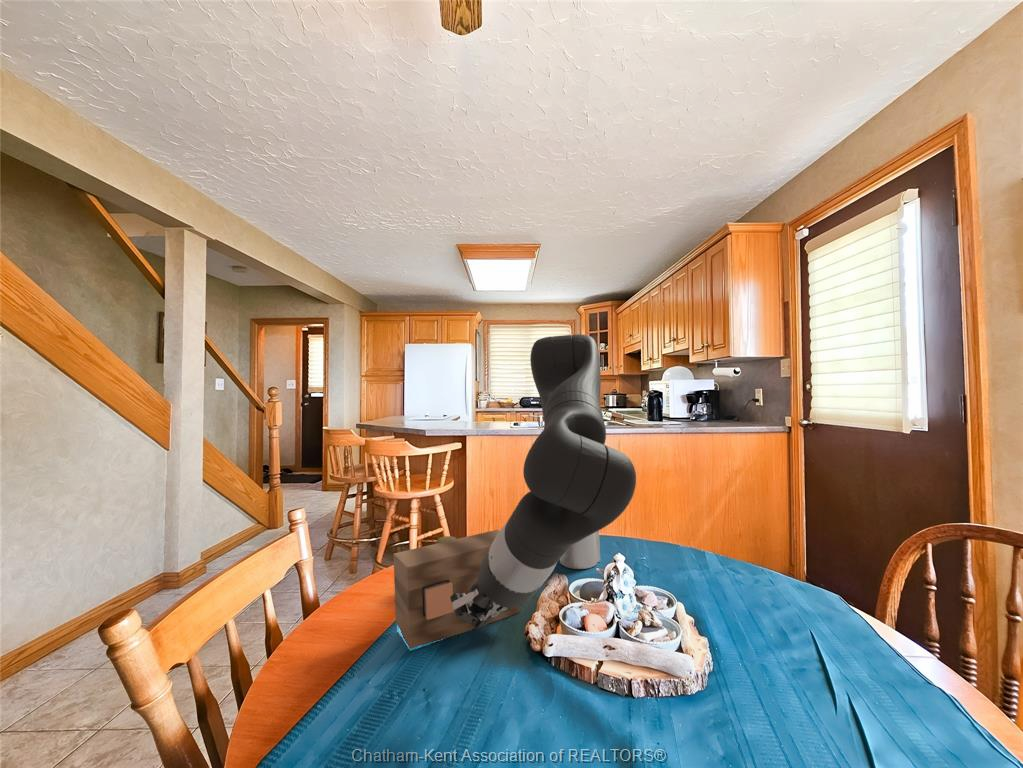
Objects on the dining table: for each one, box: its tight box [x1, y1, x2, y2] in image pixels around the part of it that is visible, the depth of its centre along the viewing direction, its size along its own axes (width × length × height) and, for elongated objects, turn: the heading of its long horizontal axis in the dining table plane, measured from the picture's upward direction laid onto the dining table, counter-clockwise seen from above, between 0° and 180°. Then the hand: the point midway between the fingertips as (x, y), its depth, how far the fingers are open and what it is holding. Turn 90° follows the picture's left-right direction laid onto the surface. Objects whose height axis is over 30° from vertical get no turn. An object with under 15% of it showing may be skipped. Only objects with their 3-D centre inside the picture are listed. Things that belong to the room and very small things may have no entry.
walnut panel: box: [393, 529, 521, 649], centre depth 80 cm, size 22×8×14 cm, turn 122°
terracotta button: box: [422, 581, 454, 620], centre depth 76 cm, size 5×9×5 cm, turn 32°
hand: (477, 621), depth 60 cm, fingers closed
